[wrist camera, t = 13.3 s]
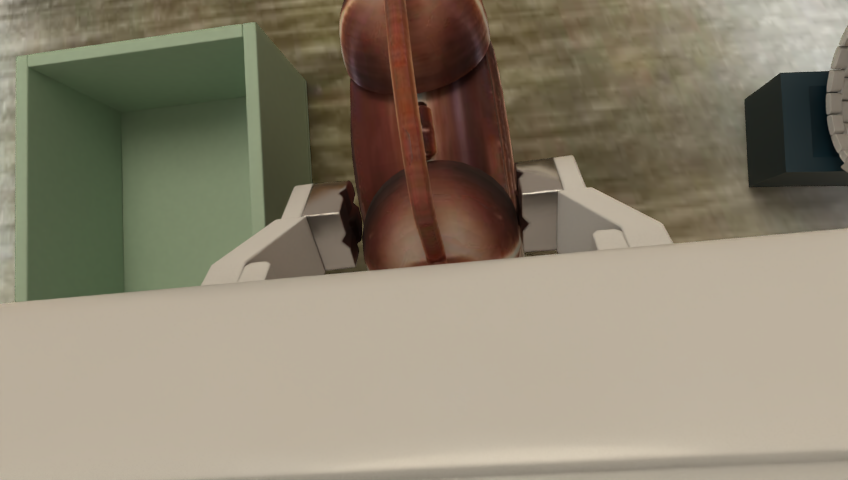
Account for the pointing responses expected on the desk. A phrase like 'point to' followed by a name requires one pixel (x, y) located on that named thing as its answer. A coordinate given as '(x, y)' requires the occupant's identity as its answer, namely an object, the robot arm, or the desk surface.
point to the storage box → (151, 158)
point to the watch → (800, 127)
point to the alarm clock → (428, 133)
